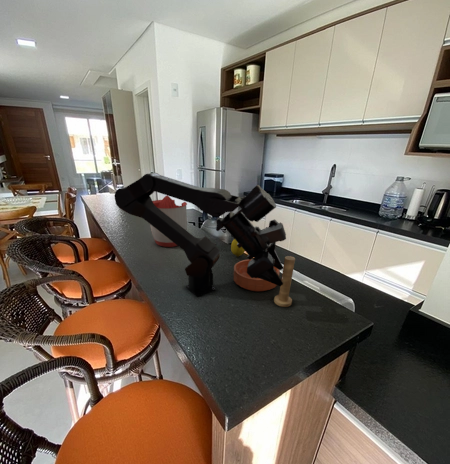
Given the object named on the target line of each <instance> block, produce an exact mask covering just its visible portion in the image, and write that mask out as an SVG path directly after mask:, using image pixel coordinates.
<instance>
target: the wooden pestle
mask: <svg viewBox="0 0 450 464" xmlns="http://www.w3.org/2000/svg"><path fill="white" fill-rule="evenodd" d="M295 262H296V258H295V257H294V256H292V255H287V256H284V261H283V265H282V266H283V269H282V272H281V280H282V282H283V285H282V286H279V292H278V294H277V295H275V296H274V298H273V302H274V304H275V305H277V306H279V307H281V308H288V307H291V305H292V304H293V299H292V297H290V291H291V286H292V285H291V284H292V281H293V280H292V279H293V275H294V269H295Z"/></svg>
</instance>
